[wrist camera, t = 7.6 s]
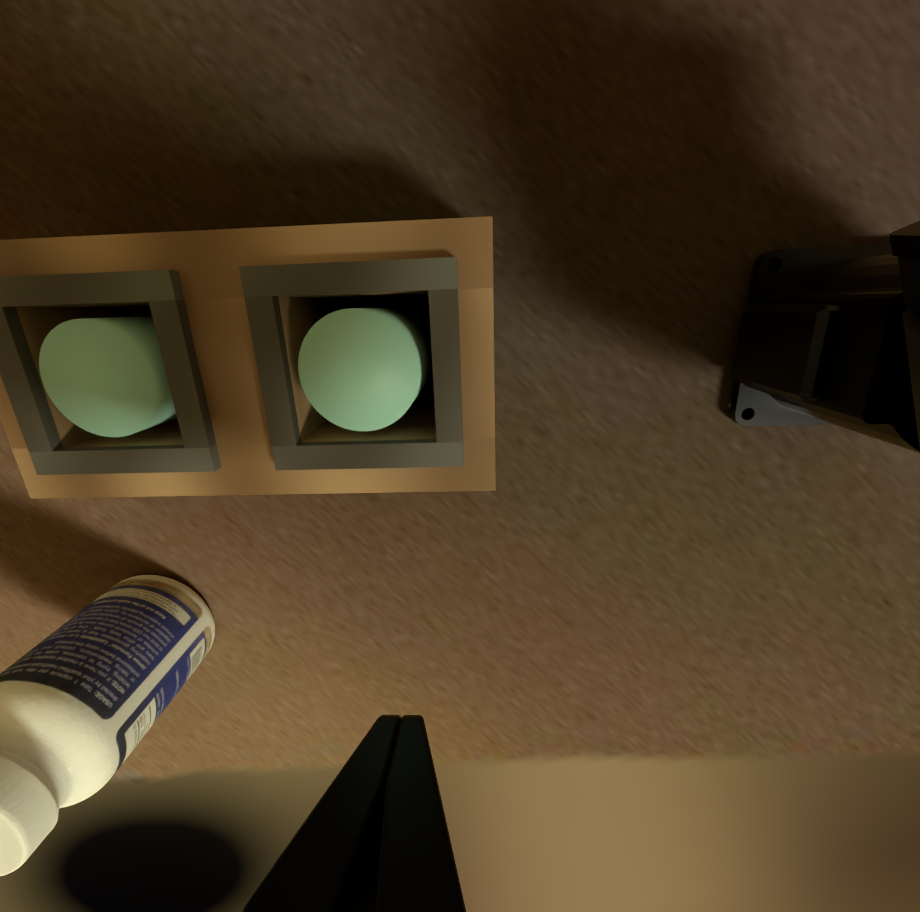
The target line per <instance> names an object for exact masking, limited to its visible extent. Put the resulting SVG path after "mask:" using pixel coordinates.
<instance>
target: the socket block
mask: <svg viewBox="0 0 920 912" xmlns="http://www.w3.org/2000/svg"><path fill="white" fill-rule="evenodd" d="M419 295H429V313H430V331H431V349H432V367H433V385H434V404H435V406H410V408H409V409H408V410H407V411H406V413H405V414H404V415H403V416H402V417H401V418H400V419H398V420H397V421H396V422H394V423H393V424H391V425H389V426H387V427H384V428H382V429H378V430H374V431H354V430H349V429H345V428H342V427H340V426H337V425H335V424H333V423H332V422H330V421H328V420H327V419H326V418H324V417H323V416H322V415H321V414H320V413H319V412H318V411H317V410H316V409H315V408H314V407H313V406H312V405H311V403H310V402H309V400H308V398H307V397H306V395H305V393H304V391H303V388H302V385H301V382H300V378H299V372H298V358H299V352H300V348H301V345H302V342H303V340H304V338H305V336H306V334H307V333H308V331H309V330H310V329H311V328H312V326H313V325H314V324H315V323H316V322H318V321H319V320H320V319H321V318H323V317H324V316H326V315H328V314H330V313H332V312H334V307H333V299H343V298H369V297H394V296H419ZM139 306H150V310H151V314H152V318H153V322H154V326H155V330H156V334H157V338H158V342H159V346H160V350H161V354H162V358H163V362H164V366H165V370H166V374H167V378H168V383H169V387H170V391H171V395H172V399H173V403H174V407H175V411H176V415H177V418H174V419H172V420H169V421H166V422H164V423H161V424H158V425H155V426H153V427H150V428H147V429H145V430H142V431H139V432H137V433H134V434H131V435H128V436H124V437H105V436H100V435H96V434H93V433H91V432H88V431H86V430H84V429H82V428H80V427H78V426H77V425H75V424H74V423H72V422H71V421H70V420H69V419H68V418H66V417H65V416H64V415H63V414H62V413H61V412H60V411H59V410H58V408H57V407H56V406H55V405H54V403H53V402H52V400H51V399H50V397H49V396H48V394H47V392H46V390H45V387H44V385H43V382H42V379H41V375H40V369H39V355H40V350H41V346H42V344H43V342H44V339H45V338H46V336H47V335H48V333H49V332H50V331H51V330H52V329H53V328H55V327H56V326H58V325H59V324H61V323H63V322H65V321H69V320H72V319H82V318H113V317H141V316H140V312H139V308H138V307H139ZM0 419H1V422H2V425H3V427H4V430H5V432H6V435H7V438H8V440H9V443H10V446H11V448H12V451H13V454H14V456H15V459H16V461H17V464H18V467H19V469H20V472H21V475H22V477H23V480H24V483H25V485H26V488H27V490H28V493H29V496H30V498H85V497H144V496H204V495H263V494H322V493H382V492H441V491H496V488H495V397H494V305H493V216H489V217H468V218H447V219H426V220H406V221H385V222H364V223H343V224H322V225H301V226H280V227H259V228H238V229H218V230H197V231H176V232H155V233H134V234H113V235H92V236H71V237H50V238H30V239H9V240H0Z"/></svg>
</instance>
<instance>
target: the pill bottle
mask: <svg viewBox="0 0 920 912" xmlns="http://www.w3.org/2000/svg"><path fill="white" fill-rule="evenodd" d="M214 637H215V624H214V619H213V616H212V614H211V612H210V609H209V608H208V606H207V605H206V603H205V602H204V601H203V599H202V598H201V597H200V596H199V595H198V594H197V593H196V592H194V591H193V590H192V589H190V588H189V587H188V586H186V585H184V584H182V583H180V582H178V581H176V580H174V579H171V578H167V577H163V576H158V575H139V576H134V577H130V578H127V579H125V580H123V581H121V582H119V583H117V584H116V585H114V586H113V587H112V588H110V589H109V590H107V591H106V592H105V593H104V594H102V595H101V596H100V597H98V598H97V599H96V600H95V601H93V602H92V603H91V604H90V605H88V606H87V607H85V608H84V609H83V610H82V611H80V612H79V613H78V614H77V615H75V616H74V617H73V618H72V619H70V620H69V621H68V622H66V623H65V624H64V625H62V626H61V627H60V628H59V629H57V630H56V631H55V632H53V633H52V634H51V635H50V636H48V637H47V638H46V639H44V640H43V641H42V642H41V643H39V644H38V645H37V646H36V647H34V648H33V649H32V650H30V651H29V652H28V653H27V654H25V655H24V656H23V657H21V658H20V659H19V660H18V661H16V662H15V663H14V664H12V665H11V666H10V667H8V668H7V669H6V670H5V671H3V672H2V673H1V674H0V876H3V875H6V874H9V873H11V872H13V871H15V870H16V869H18V868H19V867H20V866H21V865H22V864H23V863H24V862H25V861H26V860H27V859H28V858H29V857H30V855H31V854H32V853H33V851H34V850H35V849H36V848H37V847H38V846H39V844H40V843H41V842H42V841H43V839H44V838H45V837H46V836H47V835H48V834H49V833H50V831H51V830H52V829H53V828H54V826H55V825H56V823H57V820H58V811H59V808H62V807H66V806H70V805H73V804H76V803H79V802H80V801H83V800H85V799H87V798H88V797H90V796H91V795H93V794H94V793H96V792H97V791H98V790H99V789H101V788H102V787H103V786H104V785H105V784H106V783H107V782H108V781H109V780H110V779H111V777H112V776H113V775H114V774H115V772H116V771H117V770H118V769H119V767H120V766H121V765H122V764H123V762H124V761H125V760H126V758H127V757H128V756H129V755H130V753H131V752H132V751H133V749H134V748H135V747H136V746H137V744H138V743H139V742H140V740H141V739H142V738H143V736H144V735H145V734H146V733H147V731H148V730H149V729H150V727H151V726H152V725H153V723H154V722H155V721H156V720H157V718H158V717H159V716H160V714H161V713H162V712H163V711H164V709H165V708H166V707H167V705H168V704H169V703H170V702H171V700H172V699H173V698H174V696H175V695H176V694H177V693H178V691H179V690H180V689H181V687H182V686H183V685H184V684H185V682H186V681H187V680H188V678H189V677H190V676H191V675H192V673H193V672H194V671H195V669H196V668H197V667H198V665H199V664H200V663H201V662H202V660H203V659H204V657H205V656H206V655H207V653H208V652H209V650H210V648H211V646H212V644H213V641H214Z"/></svg>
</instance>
